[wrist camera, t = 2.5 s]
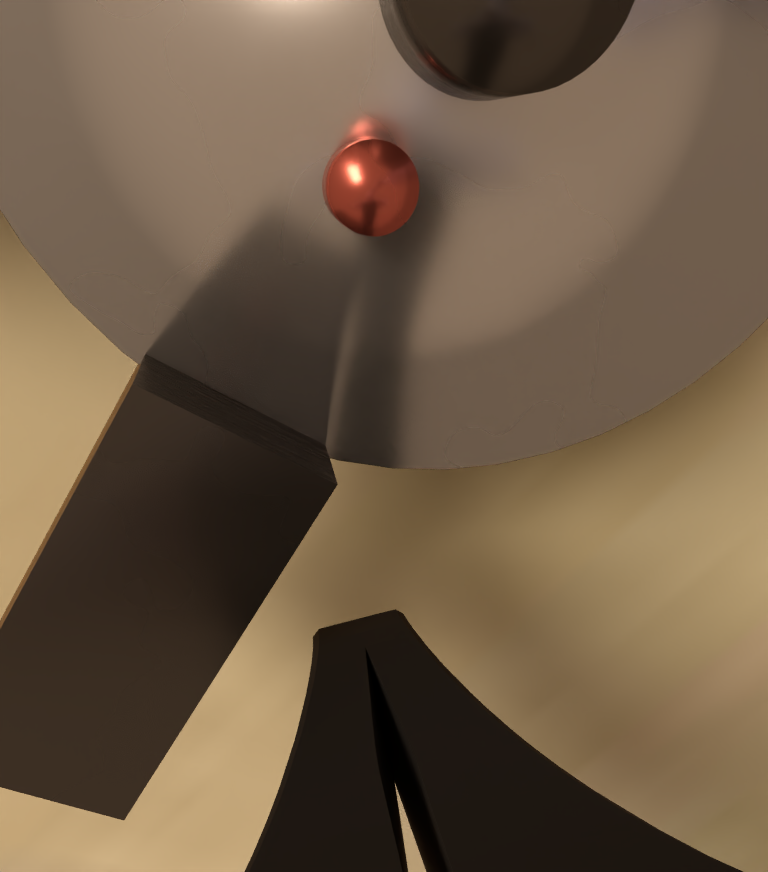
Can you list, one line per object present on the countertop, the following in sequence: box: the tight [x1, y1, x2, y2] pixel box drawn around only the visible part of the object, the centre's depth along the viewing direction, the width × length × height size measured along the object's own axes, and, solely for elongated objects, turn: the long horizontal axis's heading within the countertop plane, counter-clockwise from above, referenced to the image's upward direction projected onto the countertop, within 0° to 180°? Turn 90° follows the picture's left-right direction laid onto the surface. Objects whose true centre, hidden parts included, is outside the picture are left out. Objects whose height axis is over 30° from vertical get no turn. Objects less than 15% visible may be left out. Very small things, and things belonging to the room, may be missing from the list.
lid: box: [0, 0, 768, 820], centre depth 8 cm, size 17×12×2 cm
